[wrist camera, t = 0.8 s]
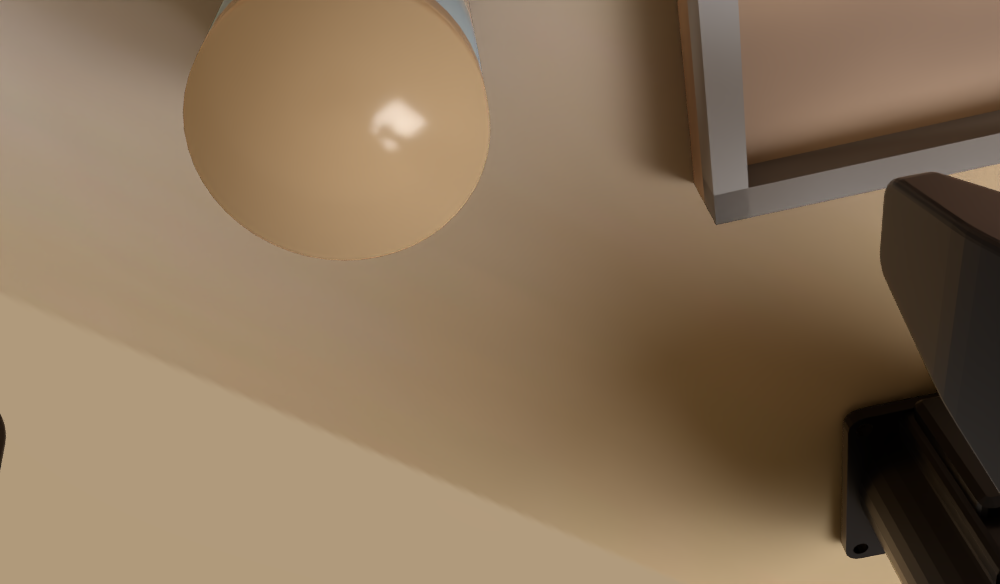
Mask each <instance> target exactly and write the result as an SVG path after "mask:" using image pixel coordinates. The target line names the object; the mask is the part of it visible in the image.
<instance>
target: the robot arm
mask: <svg viewBox="0 0 1000 584" xmlns="http://www.w3.org/2000/svg"><path fill="white" fill-rule="evenodd" d="M880 262H881V267H882V271H883V275H884V277H885V280H886V282H887V284H888V286H889V288H890V291H891V293H892V295H893V297H894V299H895V301H896V303H897V306H898V308H899V310H900V312H901V314H902V316H903V319H904V321H905V323H906V325H907V327H908V329H909V331H910V334H911V336H912V338H913V340H914V342H915V344H916V347H917V349H918V351H919V353H920V355H921V357H922V360H923V362H924V364H925V366H926V368H927V370H928V372H929V375H930V377H931V379H932V381H933V383H934V385H935V387H936V389H937V391H938V393H935V394H930V395H925V396H920V397H915V398H911V399H906V400H901V401H896V402H891V403H887V404H882V405H877V406H872V407H867V408H862V409H858V410H856V411H853V412H851V413H850V414H849V415H847V417H846V418H845V419H844V422H843V450H842V527H841V543H842V546H843V548H844V550H845V552H846V554H847V556H849V557H850V558H854V559H858V558H865V557H870V556H874V555H879V554H884V553H886V555H887V557H888V558H889V560H890V562H891V564H892V566H893V568H894V570H895V572H896V574H897V575H898V577H899V579H900V581H901V583H902V584H1000V192H999V191H995V190H992V189H989V188H986V187H983V186H979V185H976V184H973V183H970V182H967V181H963V180H960V179H957V178H954V177H951V176H947V175H944V174H941V173H938V172H925V173H920V174H914V175H909V176H904V177H899V178H895V179H893V180H892V181H891V182H890V183H889V184H888V185H887V188H886V191H885V194H884V204H883V218H882V231H881V244H880ZM863 424H865V425H863ZM861 425H863V426H861ZM860 426H861V427H860ZM5 439H6V432H5V425H4V422H3V419H2V417H1V415H0V468H1V463H2V458H3V452H4V447H5Z"/></svg>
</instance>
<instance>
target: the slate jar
mask: <svg viewBox="0 0 1000 584" xmlns="http://www.w3.org/2000/svg"><path fill="white" fill-rule="evenodd" d="M183 119H184V131H185V136H186V141H187V146H188V150H189V152H190V155H191V158H192V161H193V164H194V166H195V168H196V170H197V172H198V174H199V176H200V178H201V180H202V182H203V183H204V185H205V186H206V188H207V189H208V191H209V192H210V193H211V195H212V196H213V198H214V199H215V200H216V201H217V202H218V203H219V205H220V206H221V207H222V208H223V209H224V210H225V211H226V212H227V213H228V214H229V215H230V216H231V217H232V218H234V219H235V220H236V221H237V222H238V223H239V224H240V225H242V226H243V227H245V228H246V229H248V230H249V231H250V232H252V233H253V234H255V235H256V236H258V237H260V238H262V239H264V240H266V241H267V242H269V243H271V244H273V245H276V246H278V247H281V248H283V249H286V250H288V251H291V252H294V253H298V254H301V255H305V256H309V257H315V258H321V259H328V260H363V259H369V258H375V257H381V256H385V255H388V254H392V253H395V252H399V251H401V250H403V249H406V248H408V247H411V246H413V245H415V244H417V243H419V242H421V241H422V240H424V239H426V238H428V237H430V236H431V235H432V234H434V233H435V232H437V231H438V230H439V229H441V228H442V227H443V226H444V225H446V224H447V223H448V222H449V221H450V220H451V219H452V218H453V217H454V216H455V215H456V214H457V213H458V212H459V210H460V209H461V208H462V207H463V205H464V204H465V203H466V202H467V200H468V199H469V197H470V196H471V194H472V192H473V191H474V189H475V187H476V185H477V183H478V181H479V179H480V176H481V174H482V172H483V169H484V165H485V162H486V158H487V155H488V148H489V141H490V115H489V109H488V102H487V96H486V91H485V86H484V80H483V75H482V70H481V64H480V59H479V54H478V48H477V43H476V38H475V32H474V27H473V22H472V16H471V11H470V6H469V1H468V0H223V2H222V5H221V7H220V9H219V11H218V13H217V15H216V17H215V19H214V21H213V23H212V25H211V27H210V29H209V31H208V33H207V36H206V38H205V40H204V42H203V44H202V46H201V48H200V50H199V52H198V54H197V56H196V59H195V61H194V63H193V66H192V68H191V71H190V73H189V77H188V81H187V85H186V89H185V94H184V106H183Z"/></svg>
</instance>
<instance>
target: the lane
mask: <svg viewBox="0 0 1000 584" xmlns="http://www.w3.org/2000/svg"><path fill="white" fill-rule="evenodd" d="M677 4H678V14H679V25H680V36H681V47H682V58H683V68H684V79H685V90H686V101H687V111H688V122H689V133H690V144H691V154H692V165H693V176H694V185H695V187H696V188H697V190H698V192H699V194H700V196H701V198H702V200H703V201H704V203H705V205H706V207H707V209H708V211H709V213H710V214H711V216H712V218H713V220H714V222H715V224H716V225H718V224H723V223H728V222H732V221H737V220H741V219H746V218H751V217H755V216H760V215H764V214H769V213H774V212H778V211H783V210H787V209H792V208H797V207H801V206H806V205H811V204H815V203H820V202H824V201H829V200H834V199H838V198H843V197H847V196H852V195H857V194H861V193H866V192H870V191H875V190H880V189H884V188H887V185H888V184H889V183H890V182H891V181H892V180H893V179H895V178H899V177H904V176H909V175H914V174H920V173H925V172H938V173H941V174H944V175H949V174H953V173H958V172H963V171H967V170H972V169H976V168H981V167H986V166H990V165H995V164H1000V0H677Z"/></svg>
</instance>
